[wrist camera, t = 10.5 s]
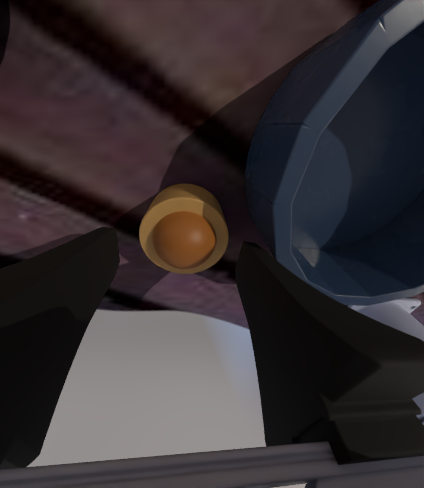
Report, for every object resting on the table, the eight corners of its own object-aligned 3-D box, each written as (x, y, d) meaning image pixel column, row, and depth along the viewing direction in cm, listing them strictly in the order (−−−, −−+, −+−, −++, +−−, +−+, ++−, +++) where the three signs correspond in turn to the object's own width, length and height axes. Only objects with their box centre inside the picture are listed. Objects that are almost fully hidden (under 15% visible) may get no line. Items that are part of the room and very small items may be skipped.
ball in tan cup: (216, 253, 15) (222, 293, 11) (149, 246, 14) (133, 288, 10) (229, 189, 12) (244, 216, 9) (148, 177, 11) (127, 201, 8)
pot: (370, 260, 17) (436, 310, 12) (225, 245, 15) (238, 299, 10) (532, 53, 10) (835, -12, 5) (293, -33, 7) (445, -279, 3)
